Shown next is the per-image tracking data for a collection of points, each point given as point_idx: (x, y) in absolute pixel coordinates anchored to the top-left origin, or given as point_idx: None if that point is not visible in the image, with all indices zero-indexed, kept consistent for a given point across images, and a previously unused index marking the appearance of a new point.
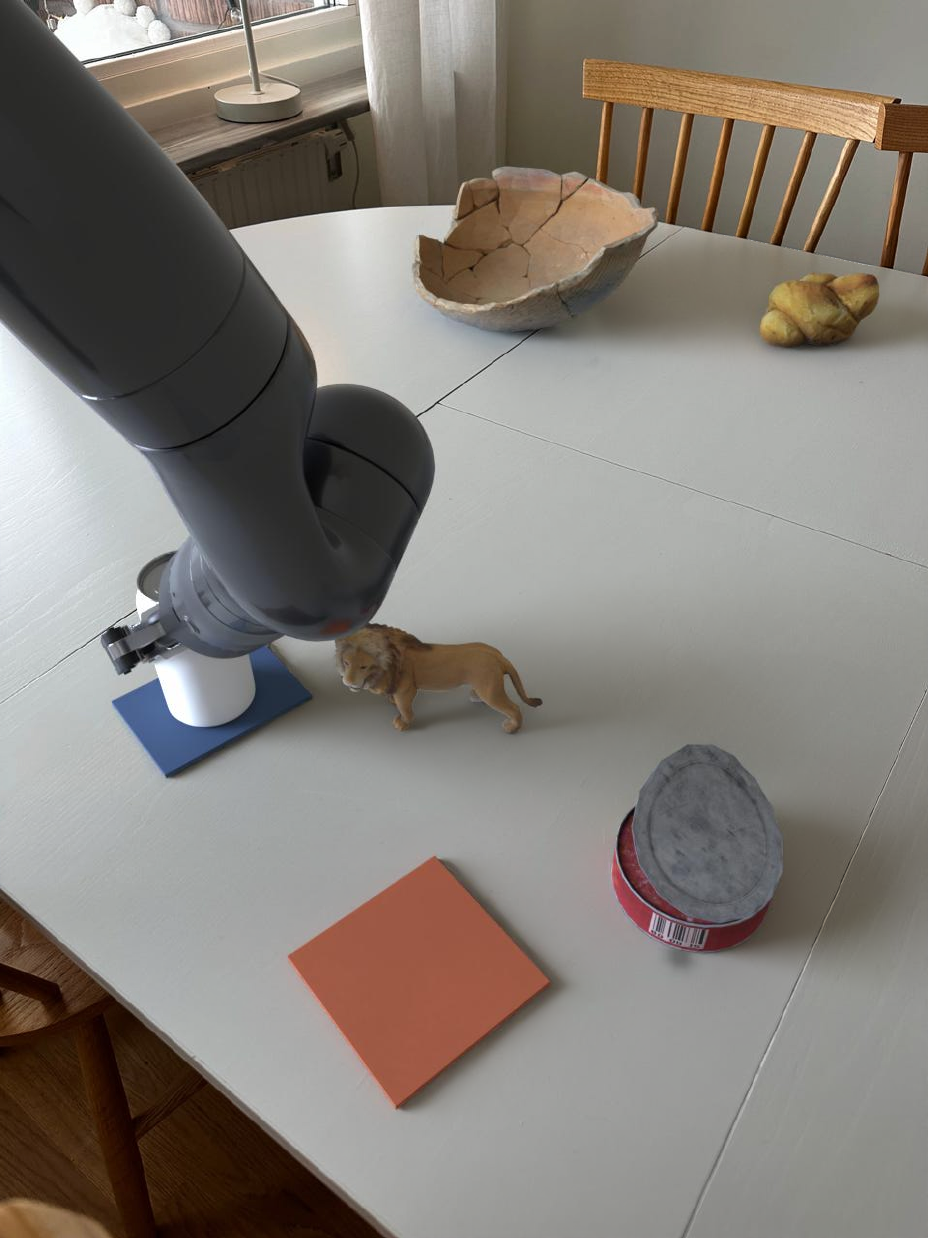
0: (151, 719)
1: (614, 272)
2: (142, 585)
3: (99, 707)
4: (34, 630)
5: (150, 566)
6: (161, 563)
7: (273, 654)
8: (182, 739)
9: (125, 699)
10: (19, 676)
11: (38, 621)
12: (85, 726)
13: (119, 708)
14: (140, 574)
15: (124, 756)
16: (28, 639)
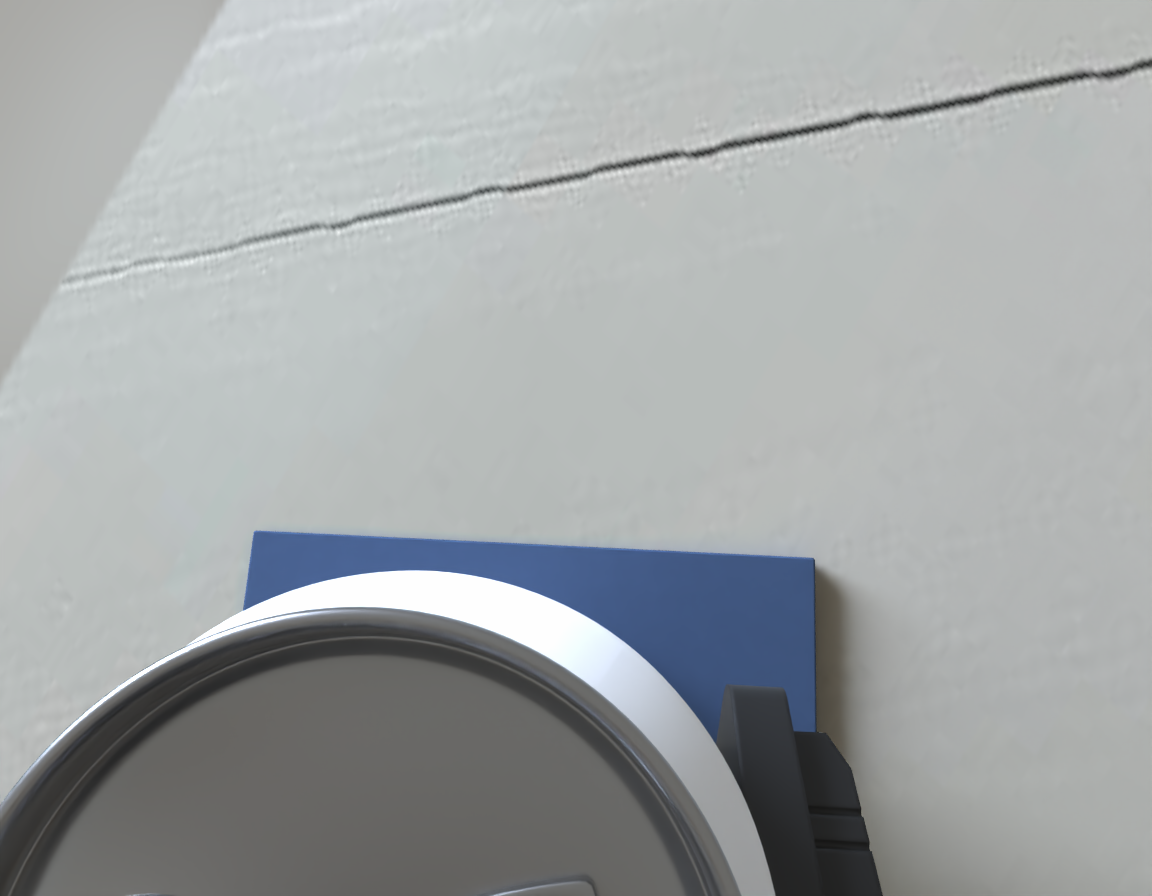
0: None
1: None
2: (46, 847)
3: (225, 513)
4: (266, 64)
5: (241, 658)
6: (348, 668)
7: (813, 730)
8: None
9: (291, 556)
10: (126, 219)
11: (296, 36)
12: (148, 561)
13: (253, 583)
14: (84, 737)
15: None
16: (232, 89)
